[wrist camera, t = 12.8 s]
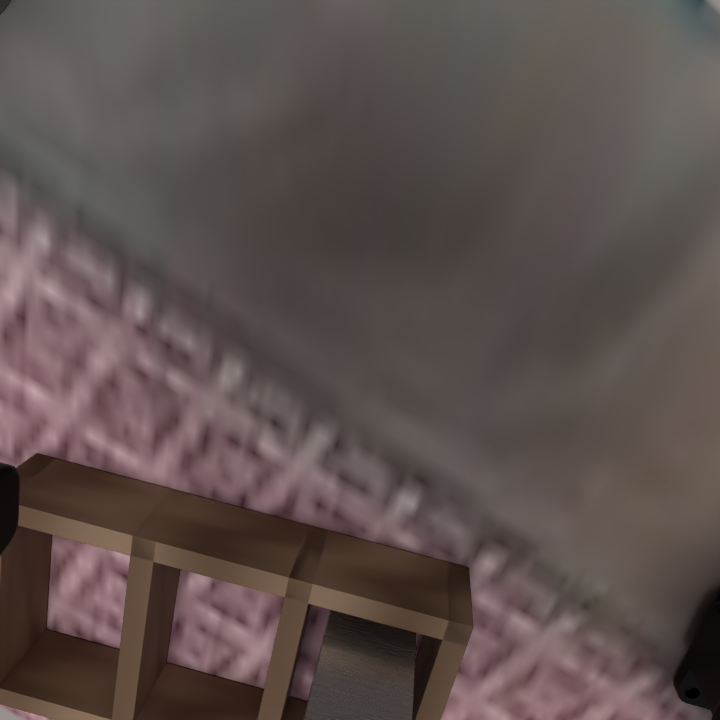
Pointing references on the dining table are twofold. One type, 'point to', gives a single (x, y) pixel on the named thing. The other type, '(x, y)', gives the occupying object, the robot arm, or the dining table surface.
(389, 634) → the grey metallic rectangular block
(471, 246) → the dining table surface
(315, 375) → the dining table surface
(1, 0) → the coffeepot
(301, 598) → the rack
